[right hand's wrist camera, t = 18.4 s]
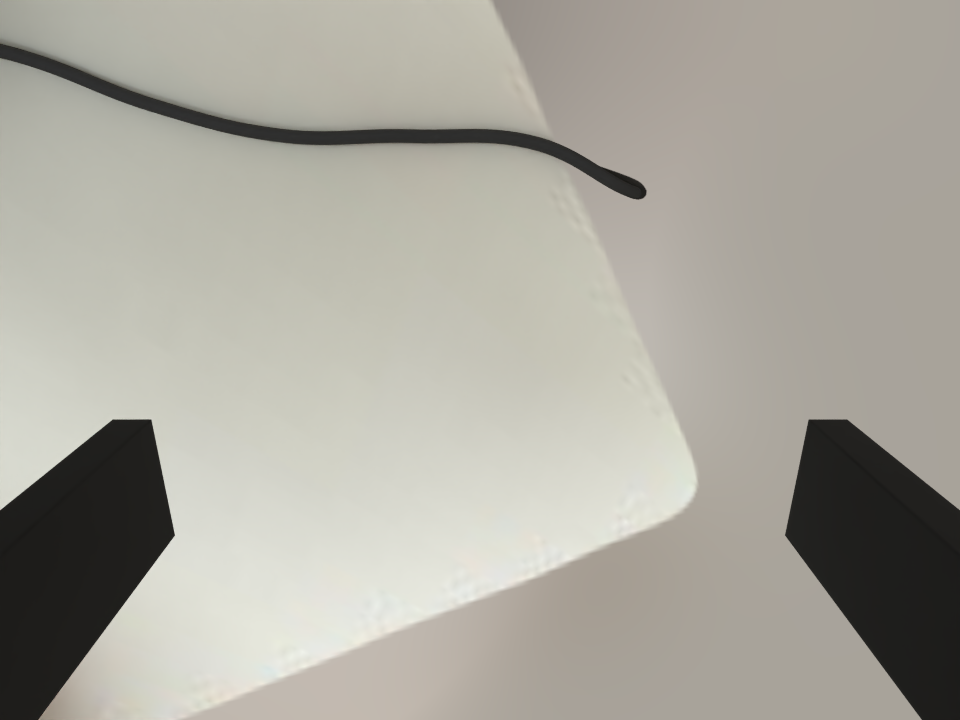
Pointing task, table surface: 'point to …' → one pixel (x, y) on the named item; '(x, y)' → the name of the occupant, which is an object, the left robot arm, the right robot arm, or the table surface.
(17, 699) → the right robot arm
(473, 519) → the table surface
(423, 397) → the table surface
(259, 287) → the table surface
